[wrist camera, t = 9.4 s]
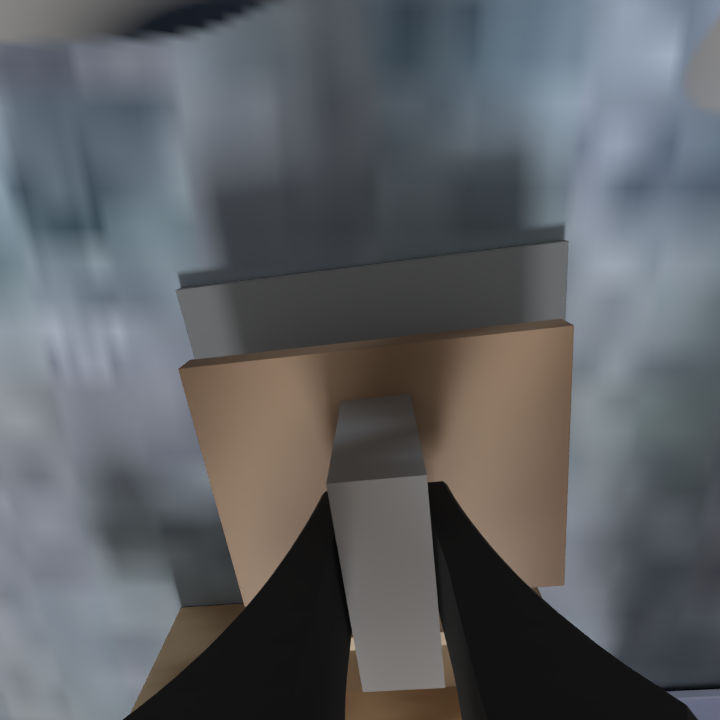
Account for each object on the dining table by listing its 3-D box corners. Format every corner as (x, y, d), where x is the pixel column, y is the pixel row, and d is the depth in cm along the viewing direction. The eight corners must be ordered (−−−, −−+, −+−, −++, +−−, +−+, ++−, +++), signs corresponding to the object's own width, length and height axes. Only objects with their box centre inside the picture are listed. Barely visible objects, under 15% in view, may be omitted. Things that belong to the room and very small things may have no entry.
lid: (547, 310, 13) (674, 380, 7) (543, 545, 16) (634, 721, 10) (202, 350, 14) (87, 438, 8) (258, 566, 17) (200, 740, 11)
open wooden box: (519, 544, 19) (562, 646, 15) (518, 675, 22) (554, 793, 18) (167, 570, 21) (109, 672, 16) (212, 691, 24) (174, 805, 19)
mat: (563, 240, 15) (568, 240, 14) (553, 515, 19) (556, 521, 18) (180, 288, 16) (175, 290, 15) (249, 539, 20) (247, 546, 19)
